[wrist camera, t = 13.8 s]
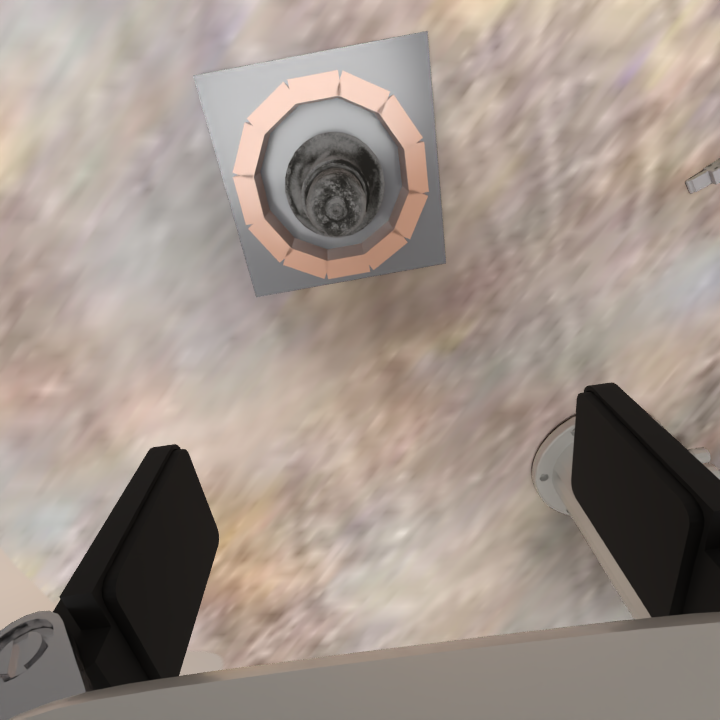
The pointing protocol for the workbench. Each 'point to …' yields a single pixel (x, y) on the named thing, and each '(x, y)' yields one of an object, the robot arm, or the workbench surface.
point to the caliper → (705, 177)
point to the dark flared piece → (334, 184)
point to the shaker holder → (317, 116)
